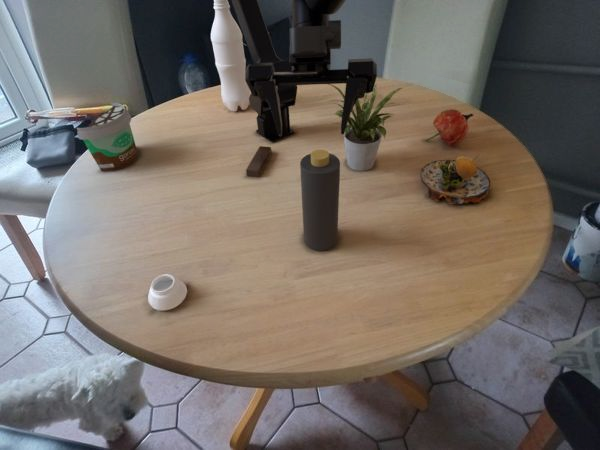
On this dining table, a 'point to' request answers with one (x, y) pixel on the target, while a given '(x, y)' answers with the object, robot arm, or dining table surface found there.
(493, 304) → the dining table surface
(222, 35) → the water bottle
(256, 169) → the walnut stick
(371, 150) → the house plant
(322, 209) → the grey bottle yellow cap
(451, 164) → the multicoloured piece
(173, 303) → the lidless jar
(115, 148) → the food container
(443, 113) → the pomegranate
